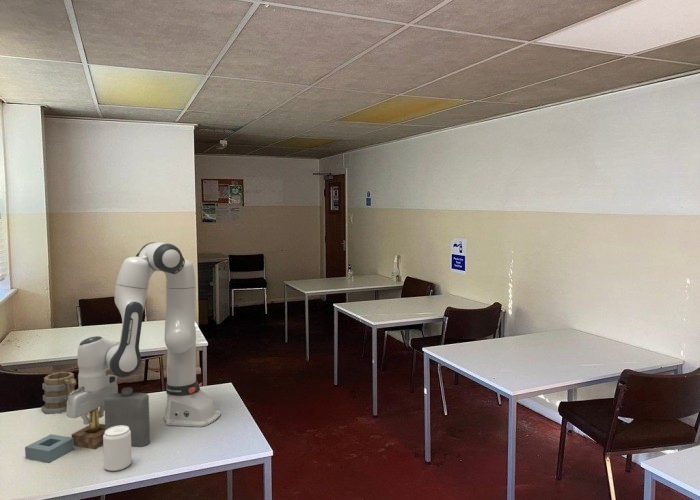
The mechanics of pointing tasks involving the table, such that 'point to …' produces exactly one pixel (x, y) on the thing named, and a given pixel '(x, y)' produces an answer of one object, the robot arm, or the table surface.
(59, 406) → the tankard
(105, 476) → the table surface
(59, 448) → the slate socket block
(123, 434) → the beverage can
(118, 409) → the flask
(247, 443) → the table surface
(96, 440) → the walnut mount
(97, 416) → the brass peg
